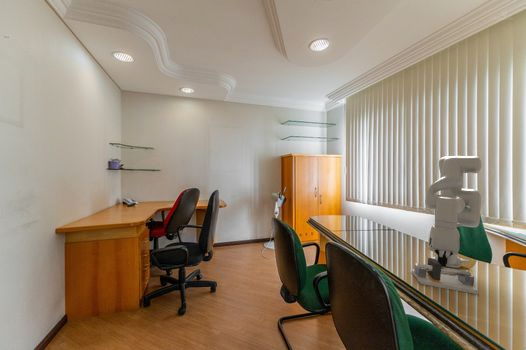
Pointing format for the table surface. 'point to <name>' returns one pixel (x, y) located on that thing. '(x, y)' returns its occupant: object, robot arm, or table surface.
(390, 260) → the table surface
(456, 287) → the pipe jig
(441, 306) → the table surface
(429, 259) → the collar
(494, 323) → the table surface
